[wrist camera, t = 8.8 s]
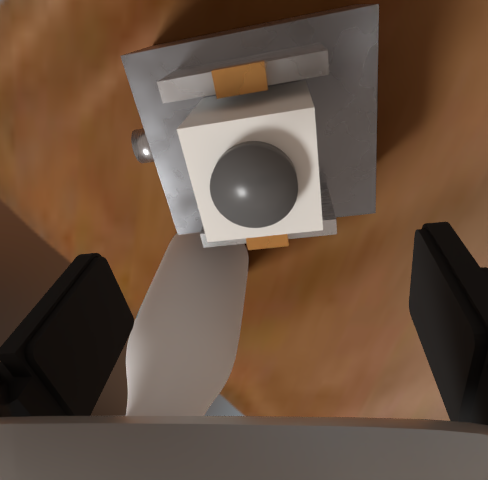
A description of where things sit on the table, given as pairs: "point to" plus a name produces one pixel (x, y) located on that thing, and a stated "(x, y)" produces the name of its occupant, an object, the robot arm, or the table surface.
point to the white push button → (254, 163)
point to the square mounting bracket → (259, 79)
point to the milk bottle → (187, 329)
